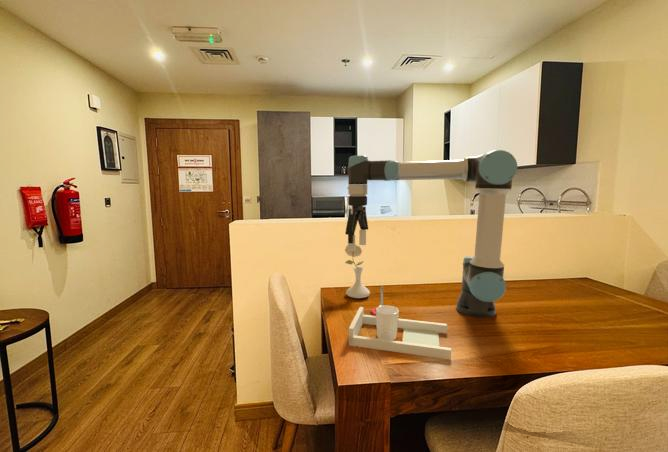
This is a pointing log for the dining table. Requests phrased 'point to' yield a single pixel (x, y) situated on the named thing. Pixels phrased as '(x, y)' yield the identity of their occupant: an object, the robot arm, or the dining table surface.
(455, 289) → the dining table surface
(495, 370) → the dining table surface
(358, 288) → the flower in vase
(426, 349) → the bay
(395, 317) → the white cup
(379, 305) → the red ring on peg
